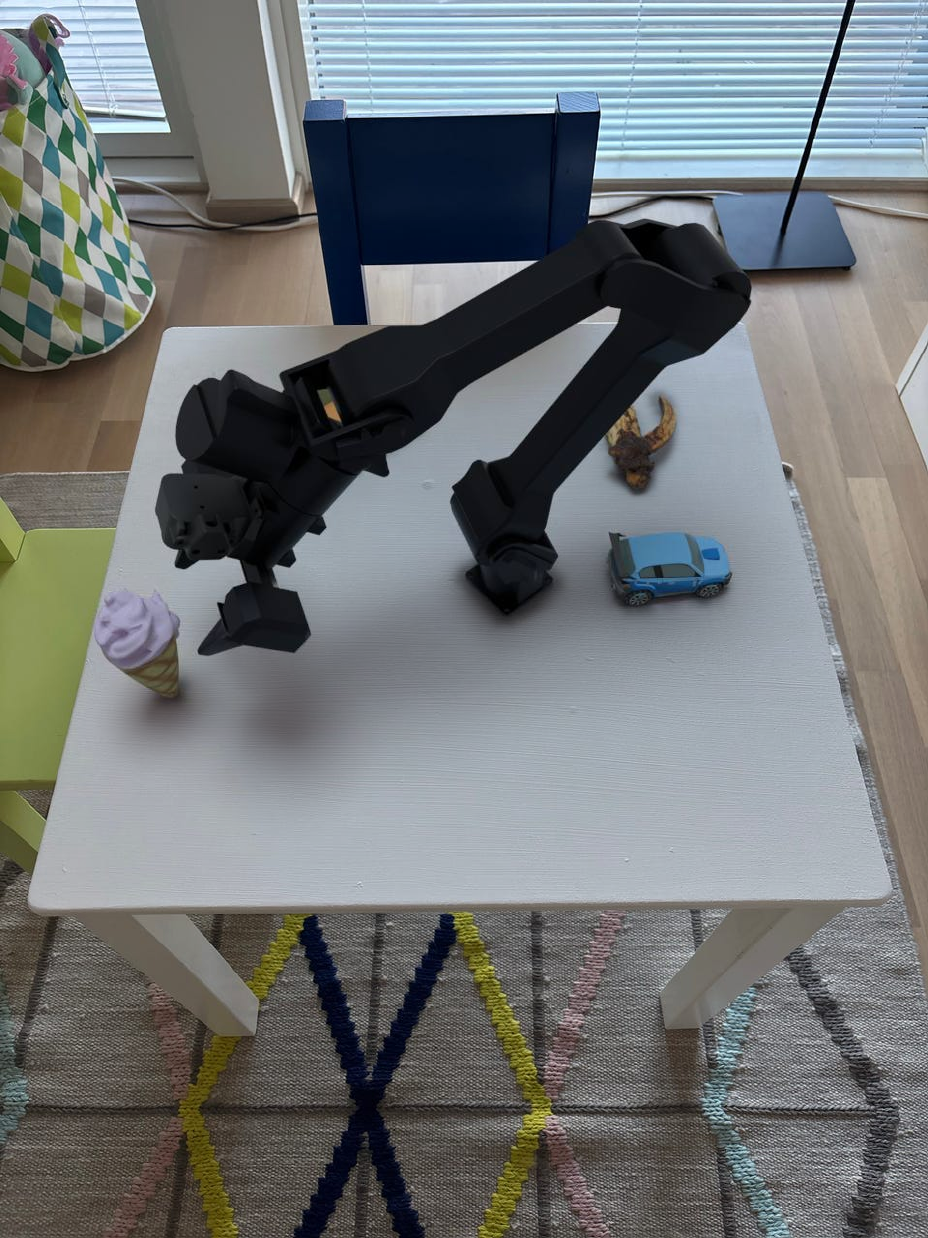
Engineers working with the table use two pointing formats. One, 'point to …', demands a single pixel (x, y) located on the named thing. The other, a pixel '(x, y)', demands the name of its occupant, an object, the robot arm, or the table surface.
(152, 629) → the ice cream cone
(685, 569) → the toy car
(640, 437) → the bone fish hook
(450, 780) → the table surface
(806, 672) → the table surface
